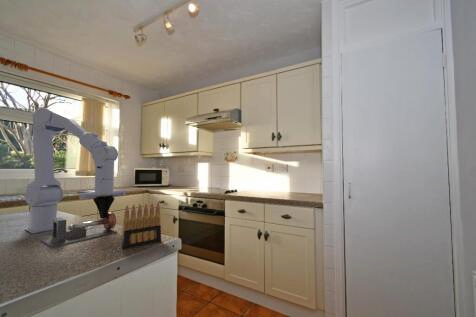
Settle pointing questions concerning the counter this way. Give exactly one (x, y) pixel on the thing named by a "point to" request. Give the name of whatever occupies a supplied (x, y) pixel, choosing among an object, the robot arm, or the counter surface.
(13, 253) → the counter surface
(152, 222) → the ammunition clip
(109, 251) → the counter surface
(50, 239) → the eye bracket
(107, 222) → the hammer
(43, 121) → the robot arm
